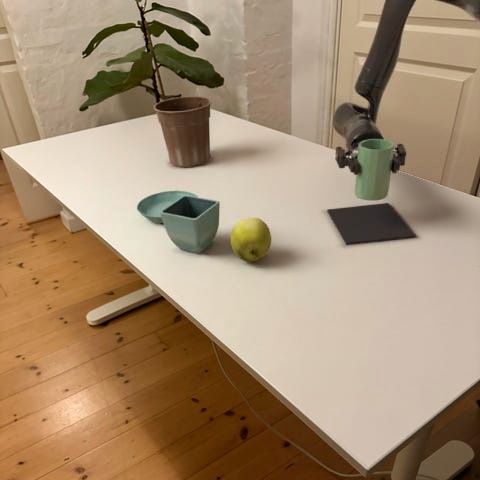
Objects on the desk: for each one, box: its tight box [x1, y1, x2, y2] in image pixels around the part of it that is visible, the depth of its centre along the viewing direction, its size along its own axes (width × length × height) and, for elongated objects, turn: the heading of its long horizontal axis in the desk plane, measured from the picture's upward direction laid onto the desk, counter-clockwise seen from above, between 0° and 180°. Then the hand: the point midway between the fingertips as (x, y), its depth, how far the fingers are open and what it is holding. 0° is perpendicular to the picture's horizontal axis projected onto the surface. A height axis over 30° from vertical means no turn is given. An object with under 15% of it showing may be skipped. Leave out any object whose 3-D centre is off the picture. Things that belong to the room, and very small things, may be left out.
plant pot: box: [153, 95, 212, 168], centre depth 134 cm, size 16×16×16 cm
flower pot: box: [160, 195, 221, 254], centre depth 93 cm, size 9×9×9 cm
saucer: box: [136, 190, 199, 224], centre depth 109 cm, size 15×15×3 cm
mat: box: [326, 202, 416, 246], centre depth 98 cm, size 14×16×1 cm
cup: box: [354, 138, 395, 202], centre depth 91 cm, size 7×7×10 cm
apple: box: [230, 217, 272, 263], centre depth 88 cm, size 8×9×8 cm
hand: (376, 169), depth 89 cm, fingers closed on cup, 6 cm apart
